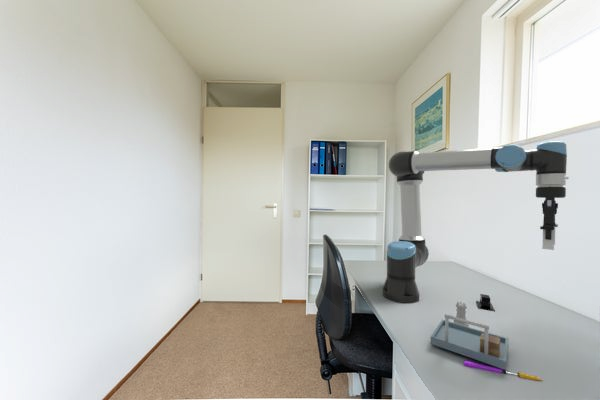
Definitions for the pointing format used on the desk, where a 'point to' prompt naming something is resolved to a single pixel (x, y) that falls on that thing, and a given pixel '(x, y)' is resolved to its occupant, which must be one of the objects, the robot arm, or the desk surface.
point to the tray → (468, 341)
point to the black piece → (484, 303)
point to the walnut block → (491, 345)
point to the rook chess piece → (461, 313)
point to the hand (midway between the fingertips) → (548, 246)
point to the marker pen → (498, 370)
